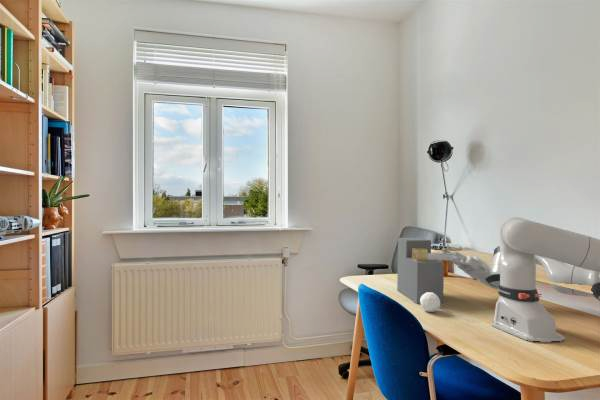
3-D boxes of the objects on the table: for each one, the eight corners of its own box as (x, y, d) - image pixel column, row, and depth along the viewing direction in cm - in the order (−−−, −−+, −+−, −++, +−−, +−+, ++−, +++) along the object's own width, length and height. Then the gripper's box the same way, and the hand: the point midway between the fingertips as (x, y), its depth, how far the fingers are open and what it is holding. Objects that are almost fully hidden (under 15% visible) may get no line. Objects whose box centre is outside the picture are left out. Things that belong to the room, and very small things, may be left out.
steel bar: (459, 260, 161) (459, 249, 161) (416, 260, 159) (416, 249, 159) (453, 258, 166) (453, 247, 166) (411, 258, 164) (412, 247, 164)
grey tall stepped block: (443, 303, 157) (444, 243, 156) (416, 303, 155) (417, 243, 155) (420, 290, 178) (421, 238, 178) (397, 290, 177) (398, 237, 177)
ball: (425, 316, 147) (423, 297, 152) (445, 313, 143) (441, 293, 148) (417, 310, 143) (415, 291, 148) (437, 306, 139) (434, 287, 143)
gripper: (483, 277, 154) (457, 261, 153) (457, 267, 174) (434, 253, 173) (491, 264, 154) (465, 248, 153) (464, 256, 175) (440, 242, 173)
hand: (448, 251), depth 163 cm, fingers open, 8 cm apart
